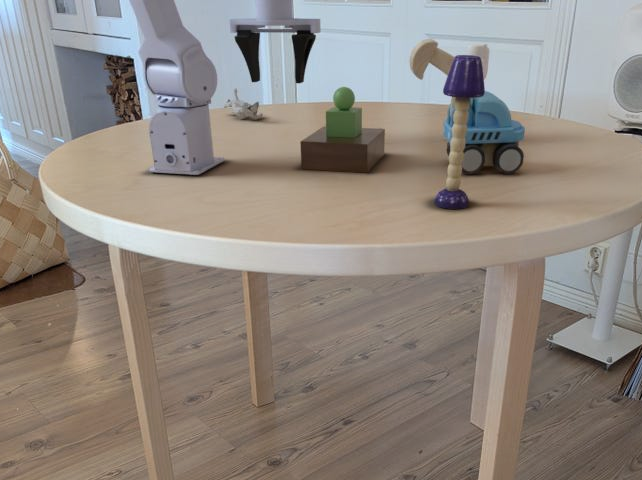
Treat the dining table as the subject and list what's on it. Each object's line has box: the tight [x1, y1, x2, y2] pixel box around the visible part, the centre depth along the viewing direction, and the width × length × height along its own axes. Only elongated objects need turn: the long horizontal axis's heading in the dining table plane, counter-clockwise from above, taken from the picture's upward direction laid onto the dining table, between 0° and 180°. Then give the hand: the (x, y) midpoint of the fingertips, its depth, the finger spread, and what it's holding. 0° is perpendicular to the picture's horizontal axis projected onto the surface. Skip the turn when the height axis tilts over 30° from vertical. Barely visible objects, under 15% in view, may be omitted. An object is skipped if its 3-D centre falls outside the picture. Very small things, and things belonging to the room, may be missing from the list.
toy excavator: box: [409, 38, 526, 175], centre depth 93 cm, size 9×17×17 cm, turn 91°
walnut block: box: [300, 125, 386, 174], centre depth 100 cm, size 12×10×4 cm
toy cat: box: [223, 87, 264, 121], centre depth 134 cm, size 8×5×12 cm
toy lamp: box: [433, 54, 486, 210], centre depth 77 cm, size 5×5×17 cm
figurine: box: [467, 43, 490, 80], centre depth 112 cm, size 7×9×15 cm
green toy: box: [325, 86, 363, 138], centre depth 98 cm, size 4×4×7 cm
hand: (277, 82), depth 108 cm, fingers open, 7 cm apart
